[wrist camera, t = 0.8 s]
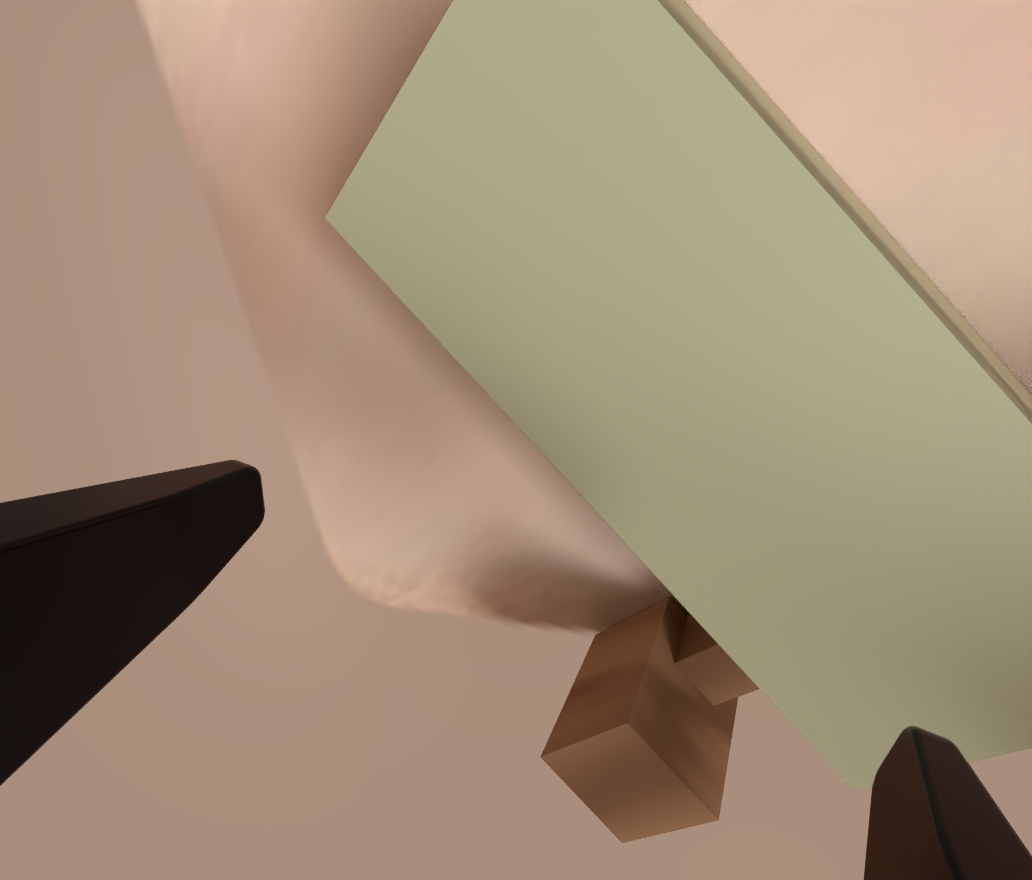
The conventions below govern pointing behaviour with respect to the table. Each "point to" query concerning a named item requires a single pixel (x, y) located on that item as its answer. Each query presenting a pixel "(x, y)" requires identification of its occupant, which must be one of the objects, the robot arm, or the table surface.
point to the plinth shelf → (719, 361)
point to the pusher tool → (650, 724)
